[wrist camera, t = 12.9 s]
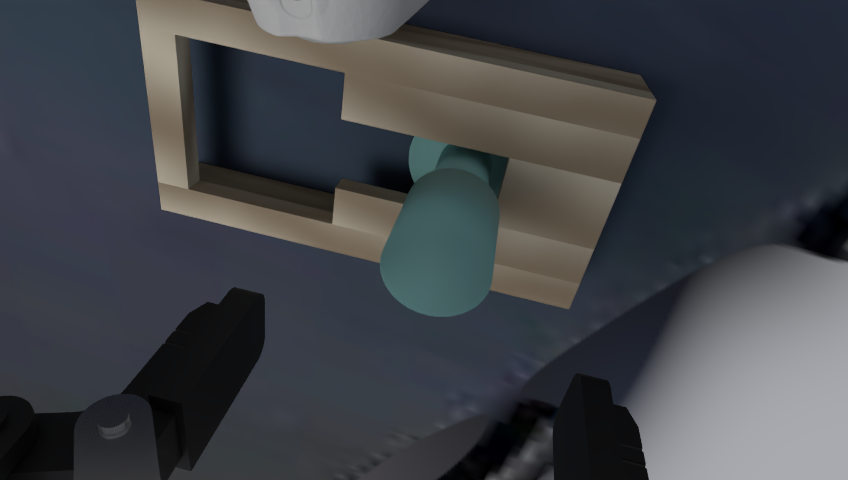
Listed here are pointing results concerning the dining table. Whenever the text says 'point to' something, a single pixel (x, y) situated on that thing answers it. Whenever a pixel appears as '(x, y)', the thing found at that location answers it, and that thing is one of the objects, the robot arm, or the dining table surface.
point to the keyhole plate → (418, 116)
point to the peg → (445, 230)
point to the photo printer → (333, 18)
